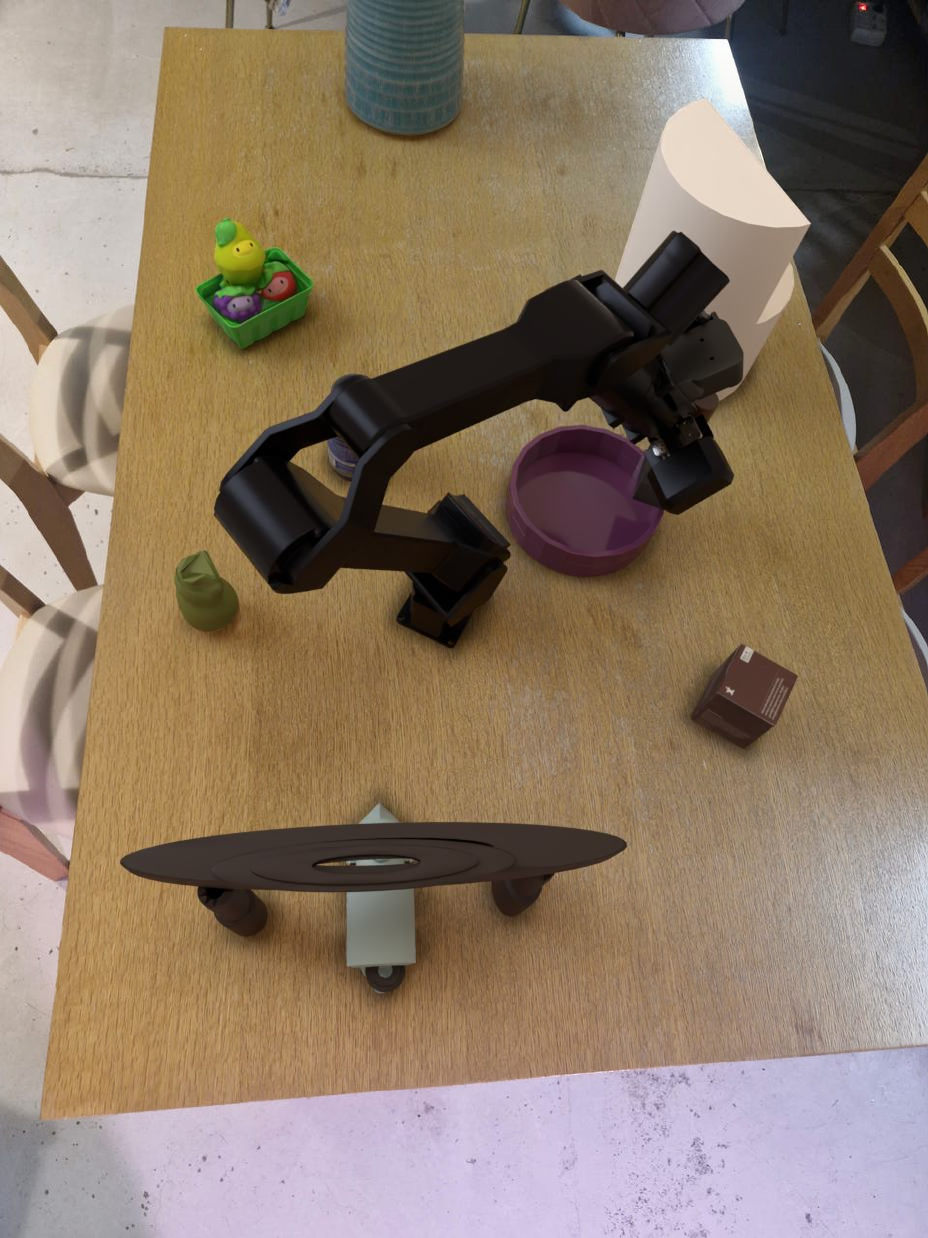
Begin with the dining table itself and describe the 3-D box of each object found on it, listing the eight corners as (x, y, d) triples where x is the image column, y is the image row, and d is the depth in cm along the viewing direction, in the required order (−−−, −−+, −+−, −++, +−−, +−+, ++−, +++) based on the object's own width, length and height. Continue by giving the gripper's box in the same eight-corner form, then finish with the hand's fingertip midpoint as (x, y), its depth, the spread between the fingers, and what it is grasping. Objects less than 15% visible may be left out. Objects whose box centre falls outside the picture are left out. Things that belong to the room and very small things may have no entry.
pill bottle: (377, 488, 91) (377, 423, 81) (322, 476, 91) (315, 409, 81) (391, 443, 94) (392, 374, 84) (337, 431, 94) (332, 361, 84)
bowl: (620, 602, 88) (632, 582, 84) (480, 536, 90) (484, 513, 85) (673, 488, 95) (686, 464, 90) (541, 428, 96) (548, 402, 92)
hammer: (669, 512, 85) (720, 430, 74) (631, 499, 85) (676, 414, 74) (681, 467, 88) (732, 381, 76) (644, 454, 88) (690, 366, 77)
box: (743, 752, 82) (775, 728, 75) (687, 718, 83) (714, 692, 76) (767, 702, 84) (800, 675, 78) (713, 670, 85) (741, 641, 79)
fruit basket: (239, 362, 96) (222, 284, 86) (194, 314, 99) (173, 233, 89) (320, 317, 100) (313, 238, 90) (275, 273, 103) (264, 191, 93)
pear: (176, 603, 83) (152, 553, 74) (227, 581, 85) (210, 529, 76) (199, 650, 81) (177, 603, 72) (251, 626, 83) (236, 578, 74)
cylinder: (635, 420, 98) (713, 241, 76) (575, 302, 105) (629, 107, 83) (775, 389, 102) (888, 210, 80) (708, 277, 109) (794, 85, 87)
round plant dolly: (128, 736, 56) (617, 726, 59) (191, 808, 75) (559, 798, 78) (96, 997, 49) (650, 969, 53) (174, 1004, 68) (577, 983, 72)
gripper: (763, 410, 61) (816, 474, 74) (664, 230, 69) (728, 316, 81) (631, 491, 67) (702, 538, 79) (552, 316, 74) (629, 384, 86)
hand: (692, 440), depth 81 cm, fingers closed on hammer, 2 cm apart
